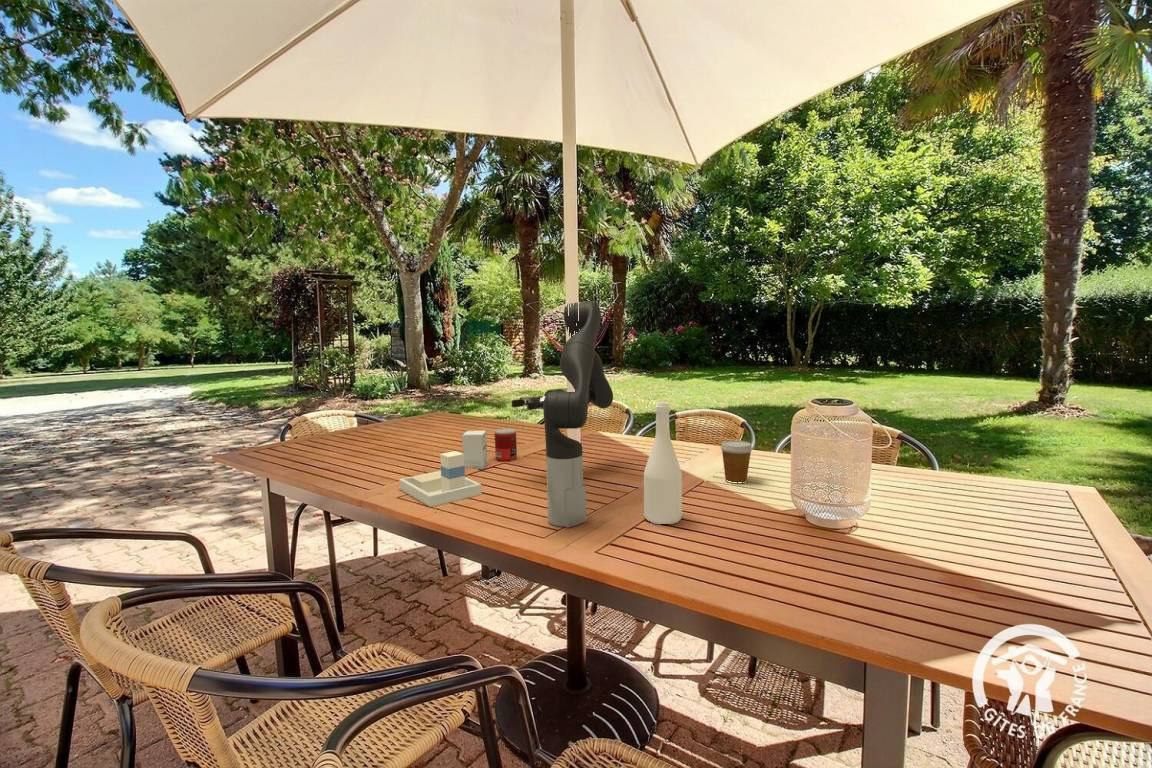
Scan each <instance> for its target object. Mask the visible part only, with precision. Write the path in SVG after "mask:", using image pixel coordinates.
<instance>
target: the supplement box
mask: <svg viewBox="0 0 1152 768" xmlns="http://www.w3.org/2000/svg"><path fill="white" fill-rule="evenodd" d="M461 437H462V438H461V439H462V441H461V442H462V454H464V466H465V469H466V468H471V469H474V470H476V469H485V468H486V467H487V465H488V446H487V431H486V430H466V431H465V432H464V433H463V434H462V436H461Z"/></svg>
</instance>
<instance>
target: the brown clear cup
mask: <svg viewBox="0 0 1152 768" xmlns="http://www.w3.org/2000/svg"><path fill="white" fill-rule="evenodd" d="M720 449H721V453H722V460H723V462H722V463H723V470H724V477H725V479H726V480H728V481H731V482H737V483H738V482H745V481H746V480H748V473H749V466H750V459H751V452H752V451H753V447H752V444H751V443H750V442H748V441H745V440H733V439H732V440H725V441H722V443H721V446H720ZM726 480H725V481H726ZM746 482H747V481H746Z"/></svg>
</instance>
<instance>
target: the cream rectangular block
mask: <svg viewBox="0 0 1152 768" xmlns="http://www.w3.org/2000/svg"><path fill="white" fill-rule="evenodd" d="M435 472H436V473H432V472H430V473H431V474H427V473H425V474H426V475H423V474H420V475H421V476H418V475H416V476H417V477H413V476H411V477H412V484H413V485H415V486H417V487H418V488H420V489H422V490H424V491H426V492H427V493H428V492H433V491H437V490H441V489H442V479H441V472H437V471H435Z"/></svg>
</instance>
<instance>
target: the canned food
mask: <svg viewBox="0 0 1152 768" xmlns="http://www.w3.org/2000/svg"><path fill="white" fill-rule="evenodd" d="M494 447H495V448H494V449H495V450H494V451H495V459H497V460H499V461H498V462H502V461H507V462H512V461H511V460H513V461H515V460H517V457H518V456H517V455H518V450H517V447H518V446H517V430H516V429H514V428H499V429H495V430H494ZM497 460H496V461H497Z"/></svg>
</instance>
